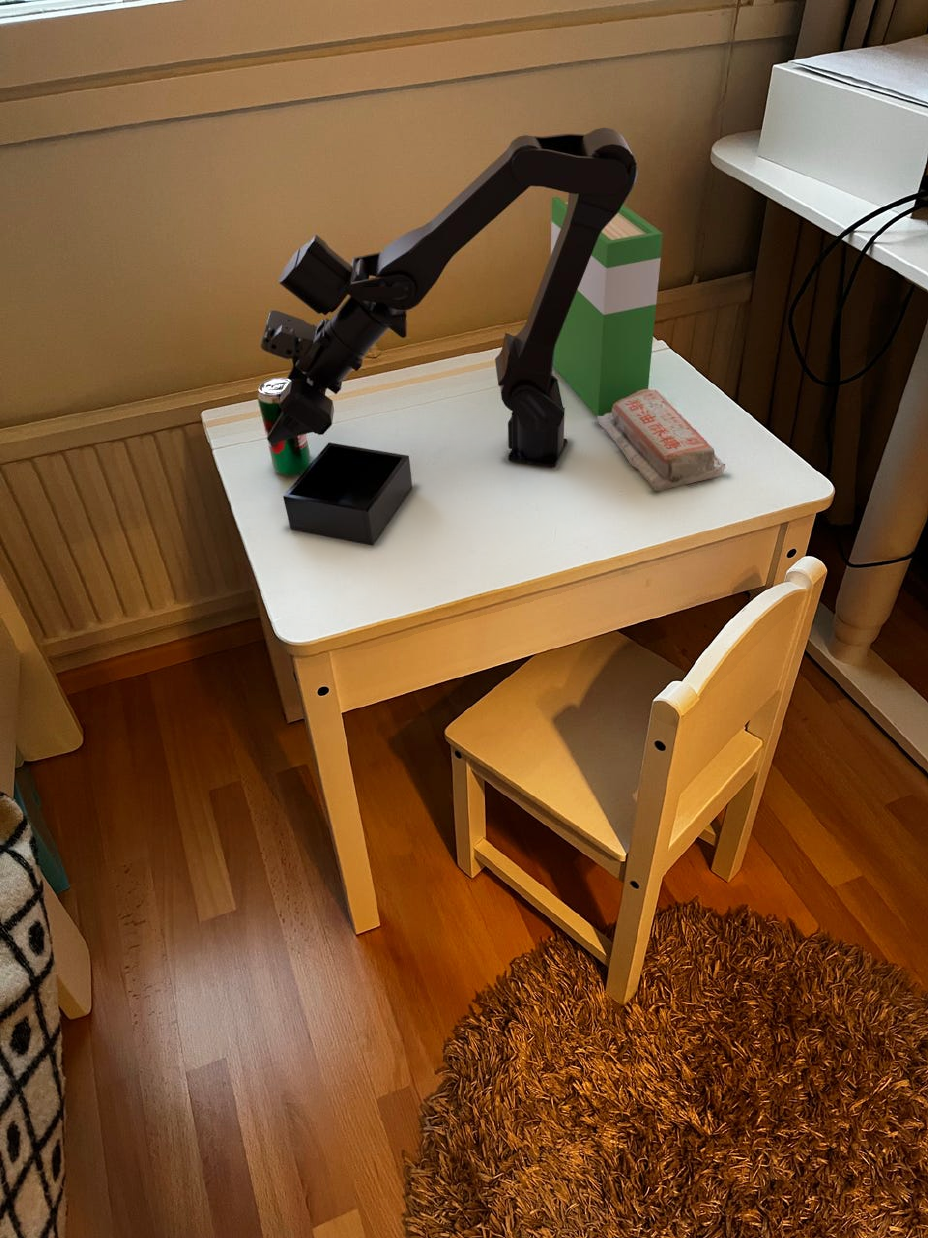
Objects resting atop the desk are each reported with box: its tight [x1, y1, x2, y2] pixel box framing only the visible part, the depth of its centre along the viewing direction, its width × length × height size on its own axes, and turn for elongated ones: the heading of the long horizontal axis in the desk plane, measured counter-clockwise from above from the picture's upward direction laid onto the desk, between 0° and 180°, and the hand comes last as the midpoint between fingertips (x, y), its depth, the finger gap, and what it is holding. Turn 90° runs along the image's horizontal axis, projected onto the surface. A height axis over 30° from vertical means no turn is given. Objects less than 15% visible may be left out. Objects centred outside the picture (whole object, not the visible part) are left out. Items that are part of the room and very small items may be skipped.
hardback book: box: [550, 196, 664, 417], centre depth 126 cm, size 18×7×24 cm, turn 19°
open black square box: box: [282, 442, 413, 547], centre depth 113 cm, size 11×12×5 cm
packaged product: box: [596, 388, 726, 492], centre depth 119 cm, size 18×5×10 cm
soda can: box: [257, 377, 312, 477], centre depth 118 cm, size 5×5×12 cm
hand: (274, 421), depth 117 cm, fingers open, 9 cm apart
